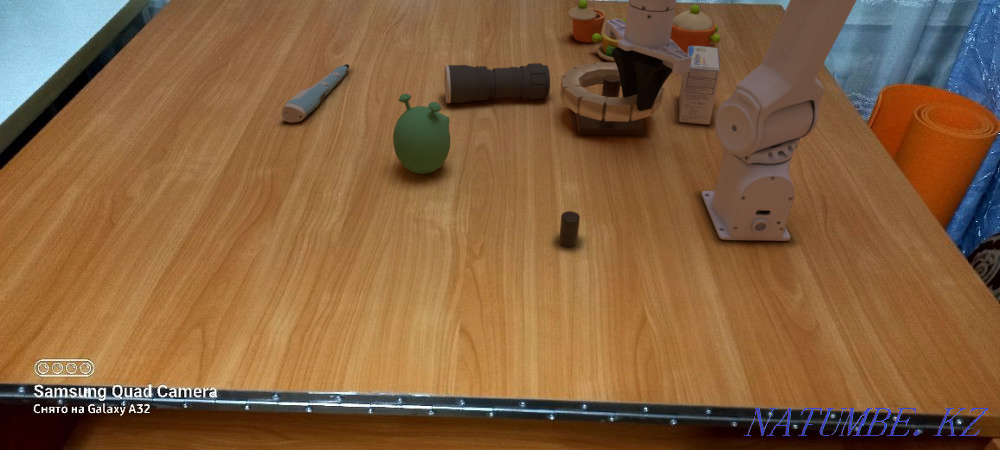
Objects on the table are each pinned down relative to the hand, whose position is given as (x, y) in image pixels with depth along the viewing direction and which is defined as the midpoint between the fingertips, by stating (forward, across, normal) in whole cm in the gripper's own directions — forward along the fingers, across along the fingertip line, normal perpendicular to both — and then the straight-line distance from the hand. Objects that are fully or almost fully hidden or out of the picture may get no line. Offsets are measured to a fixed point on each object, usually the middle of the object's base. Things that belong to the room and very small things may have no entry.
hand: (637, 104), depth 99 cm
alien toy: (+5, -6, -29) cm, 30 cm away
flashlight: (+5, -19, -11) cm, 22 cm away
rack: (+5, -6, 0) cm, 8 cm away
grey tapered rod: (+5, -32, -33) cm, 46 cm away
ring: (+2, -6, 0) cm, 6 cm away
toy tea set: (+5, -24, +21) cm, 32 cm away
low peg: (+5, +15, -21) cm, 27 cm away
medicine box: (+5, -2, +13) cm, 14 cm away
